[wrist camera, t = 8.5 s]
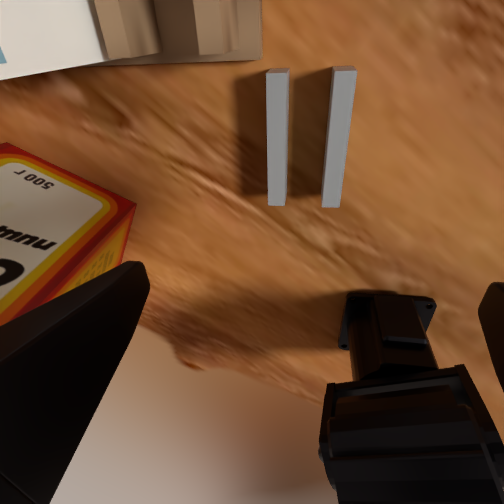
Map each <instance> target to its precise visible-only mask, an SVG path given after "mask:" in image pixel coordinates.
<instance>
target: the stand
mask: <svg viewBox="0 0 504 504" xmlns="http://www.w3.org/2000/svg"><path fill="white" fill-rule="evenodd" d="M356 77H357V70H356V69H355V68H354V67H353V66H335V67H333V68H332V79H331V90H330V100H329V111H328V122H327V133H326V144H325V155H324V166H323V177H322V188H321V200H322V207H338V208H339V206H340V198H341V191H342V183H343V175H344V168H345V160H346V153H347V145H348V138H349V130H350V122H351V115H352V107H353V100H354V92H355V84H356ZM266 104H267V167H268V205H274V206H285V200H286V193H287V158H288V113H289V68H277V69H270V70H269V71H268V72H267V73H266Z"/></svg>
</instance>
